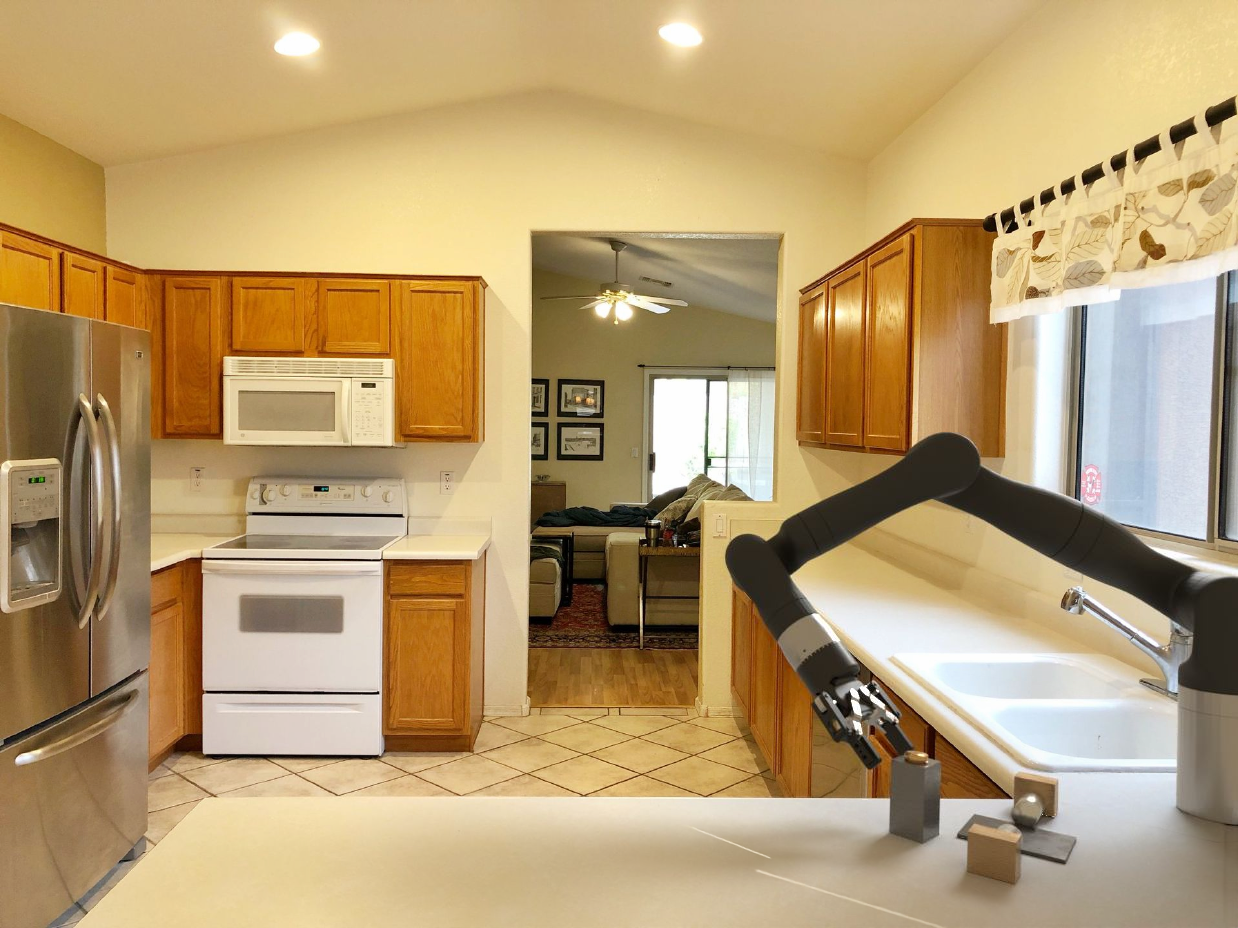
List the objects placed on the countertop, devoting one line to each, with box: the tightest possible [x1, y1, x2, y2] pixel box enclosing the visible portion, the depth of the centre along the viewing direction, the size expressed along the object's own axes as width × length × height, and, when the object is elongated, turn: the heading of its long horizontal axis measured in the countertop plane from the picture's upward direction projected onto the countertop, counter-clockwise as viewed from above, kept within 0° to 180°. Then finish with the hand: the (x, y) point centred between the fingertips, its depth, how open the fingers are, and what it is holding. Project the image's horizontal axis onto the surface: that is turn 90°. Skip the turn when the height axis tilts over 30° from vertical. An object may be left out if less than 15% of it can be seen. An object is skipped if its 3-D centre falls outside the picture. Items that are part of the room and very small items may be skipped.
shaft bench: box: [956, 771, 1077, 885], centre depth 107 cm, size 29×12×4 cm, turn 145°
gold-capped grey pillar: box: [888, 750, 942, 845], centre depth 107 cm, size 4×4×10 cm
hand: (893, 759), depth 110 cm, fingers open, 8 cm apart
